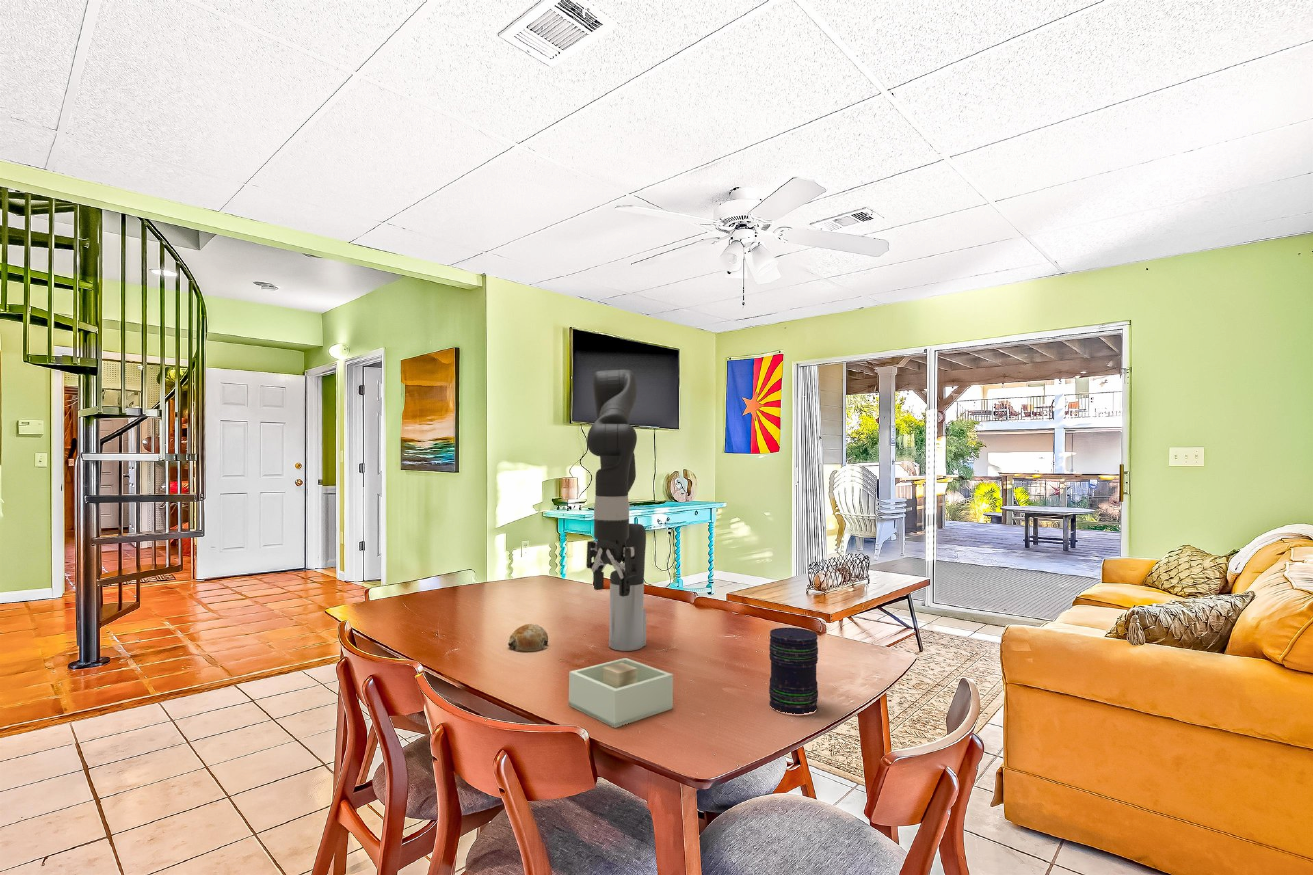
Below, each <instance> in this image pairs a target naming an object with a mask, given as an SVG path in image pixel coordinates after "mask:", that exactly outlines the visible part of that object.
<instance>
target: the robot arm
mask: <svg viewBox="0 0 1313 875" xmlns="http://www.w3.org/2000/svg"><path fill="white" fill-rule="evenodd" d="M636 380H637V379H636V375H635V373H633V371H632V370H630V369H610V370H598V371H596V372H594V374H593V378H592V389H593V390H592V391H593V398H594V405H595V413H596V421H594V422H593V423H592V425H591V426H590V428H589V429H588V433H587V437H586V446H587V448H588V451H589V452H590V453H591V454H592V455H593V456H595V457H599V463H600V468H599V469H598V470H596V473H595V491H594V492H595V496H594V504H593V505H594V506H593V537H594V539H595V540H589V541H588V542H587V544H586V545H587V547H586V568H587V569H590V570H591V572H592V573H593V575H592V579H593V580H592V582H593V583H592V584H593V589H594V590H595V591H602V590H603V589H604V588H605V587H604V585H605V584H604V583H605V582H604V581H605V580H604V579H605V577H604V576H605V574H604V570H605V567H606V565H609V566H612V567H613V569H614V570H612V571H611V573H610V577H609V623H608V624H609V626H608V627H609V630H608V636H609V638H608V639H609V640H608V647H609V648H610V649H612V650H615V651H619V652H620V651H621V652H622V651H624V652H630V651H636V650H640V649H642V648H643V647H644V646H645V647H646V646H647V610H646V609H644V607H645V606H644V605H645V604H644V600H645V596H644V595H645V594H644V593H645V591H644V590H645V568H646V567H645V565H646V564H645V563H646V562H645V561H646V546H647V533H646V528H645V526H644V525H643V524H641V523H630V503H629V502H630V501H629V492H630V490H631V489H632V488H633V485H634V483H635V480H636V479H637V476H636V475H637V473H636V472H637V471H636V470H637V469H636V458H635V457H636V454H635V450H636V445H637V442H638V441H637V440H638V434H637V432H636V429H635V427H633V426H632V425H631V424H630V414H631V411H632V410H633V408H634V405H635V403H636V400H637V388H638V387H637V381H636ZM592 560H593V561H592Z"/></svg>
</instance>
